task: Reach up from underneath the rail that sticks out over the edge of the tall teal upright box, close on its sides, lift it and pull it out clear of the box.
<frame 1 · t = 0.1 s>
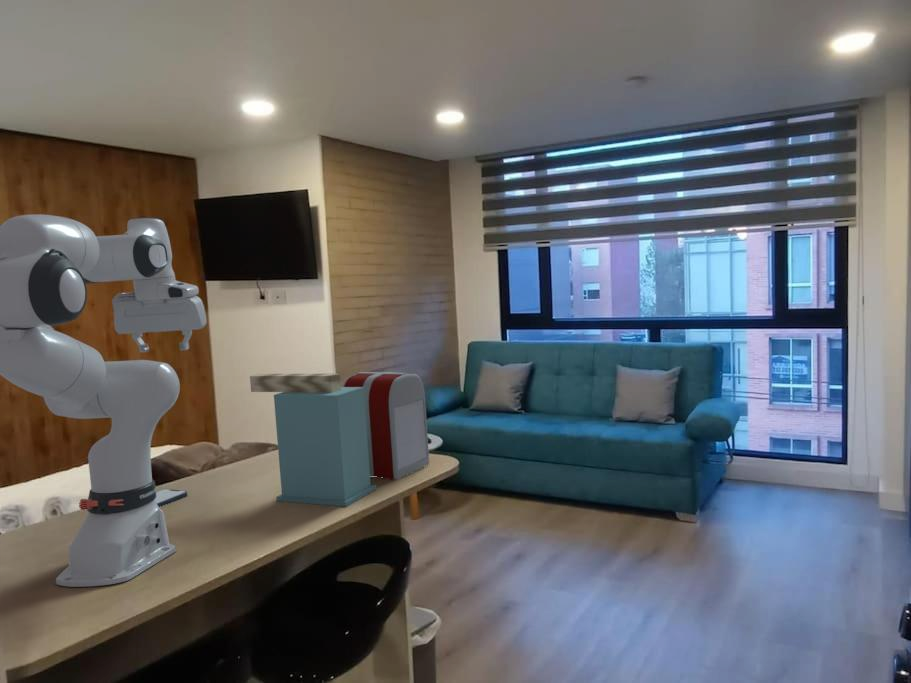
hand: (164, 350, 162), 39 cm above the table, tool pointing down, fingers open, 8 cm apart
tall teal upright box: (327, 494, 175), on the table
rail: (295, 390, 176), point 26 cm above the table, touching tall teal upright box
red striped toaster: (388, 469, 196), on the table
phone case: (152, 506, 177), on the table
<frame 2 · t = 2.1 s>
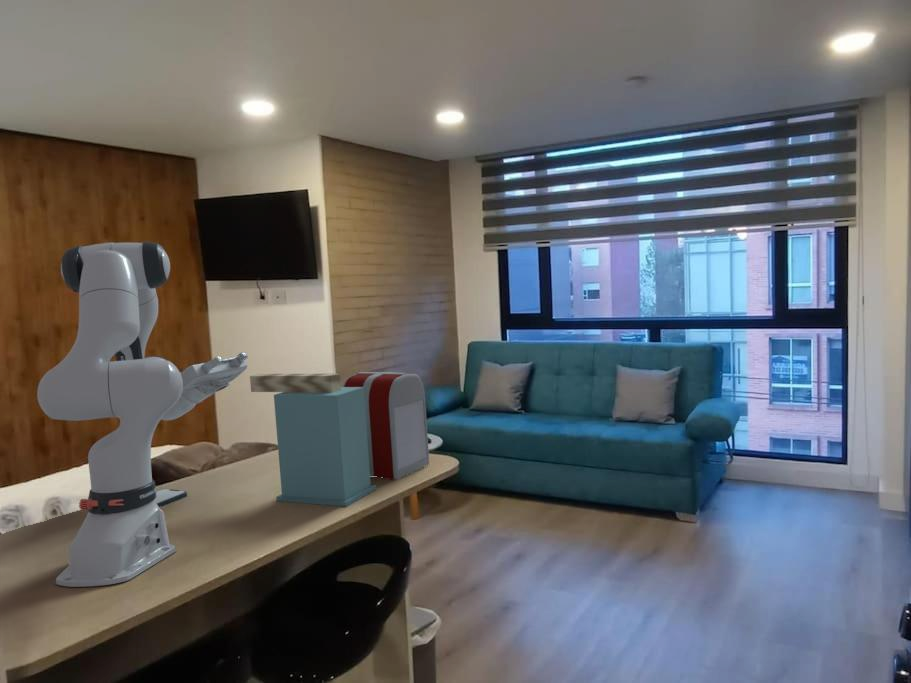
hand: (232, 356, 182), 35 cm above the table, tool pointing upward, fingers open, 8 cm apart
nothing on the table moved.
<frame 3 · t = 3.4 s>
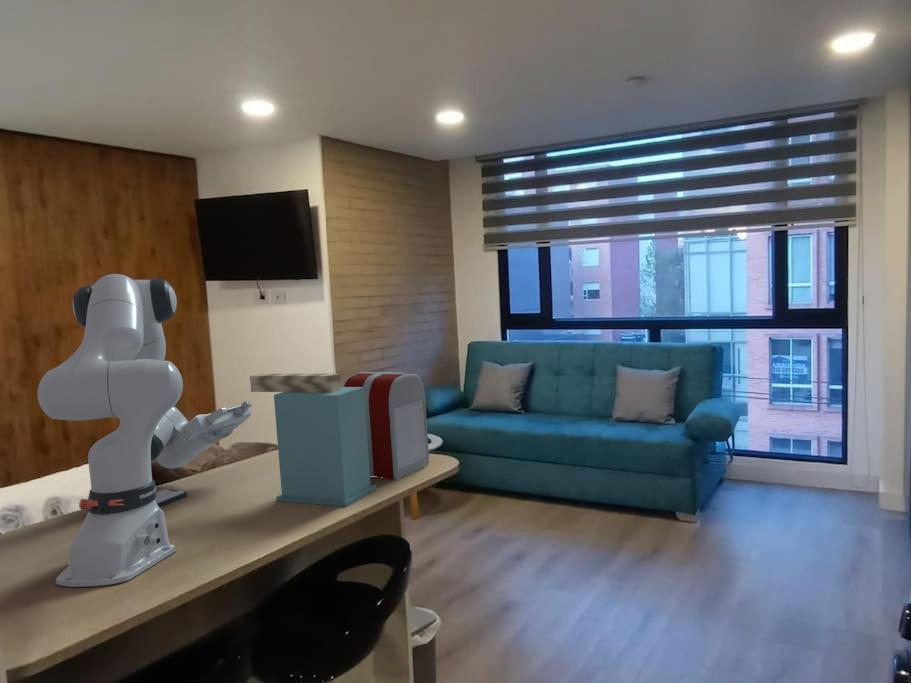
hand: (236, 406, 183), 22 cm above the table, tool pointing upward, fingers open, 8 cm apart
nothing on the table moved.
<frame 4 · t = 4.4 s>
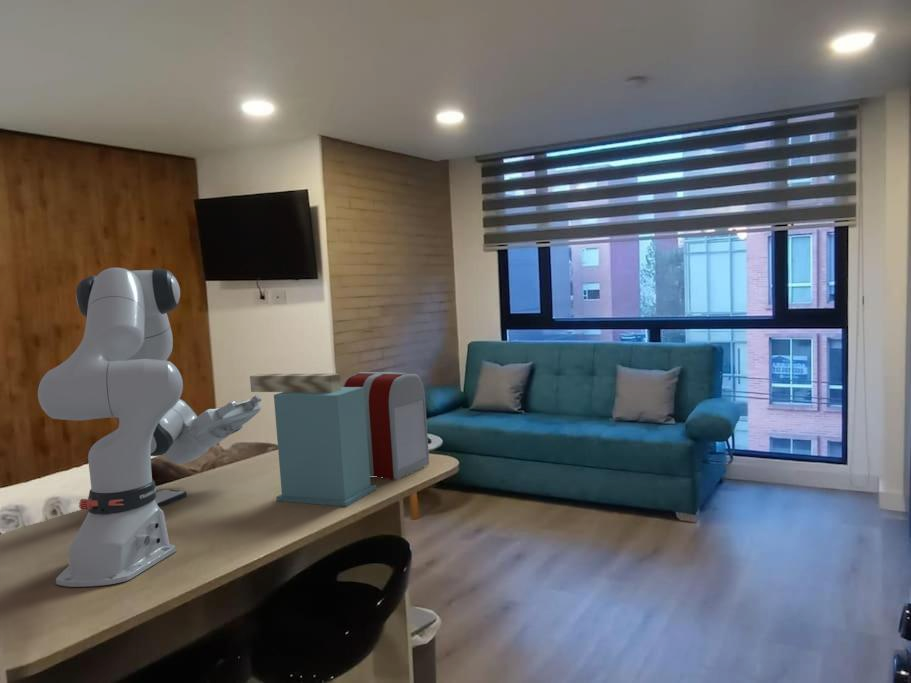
hand: (246, 400, 182), 23 cm above the table, tool pointing upward, fingers open, 8 cm apart
nothing on the table moved.
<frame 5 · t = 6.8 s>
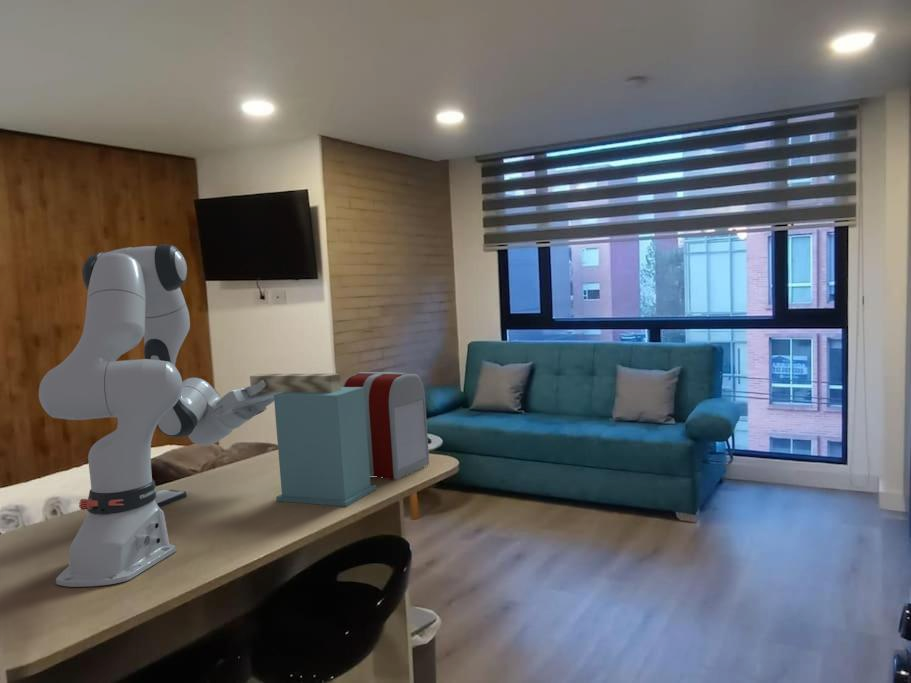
hand: (272, 381, 178), 28 cm above the table, tool pointing upward, fingers closed on rail, 4 cm apart
rail: (295, 390, 176), point 26 cm above the table, touching gripper, tall teal upright box
everything else where it was.
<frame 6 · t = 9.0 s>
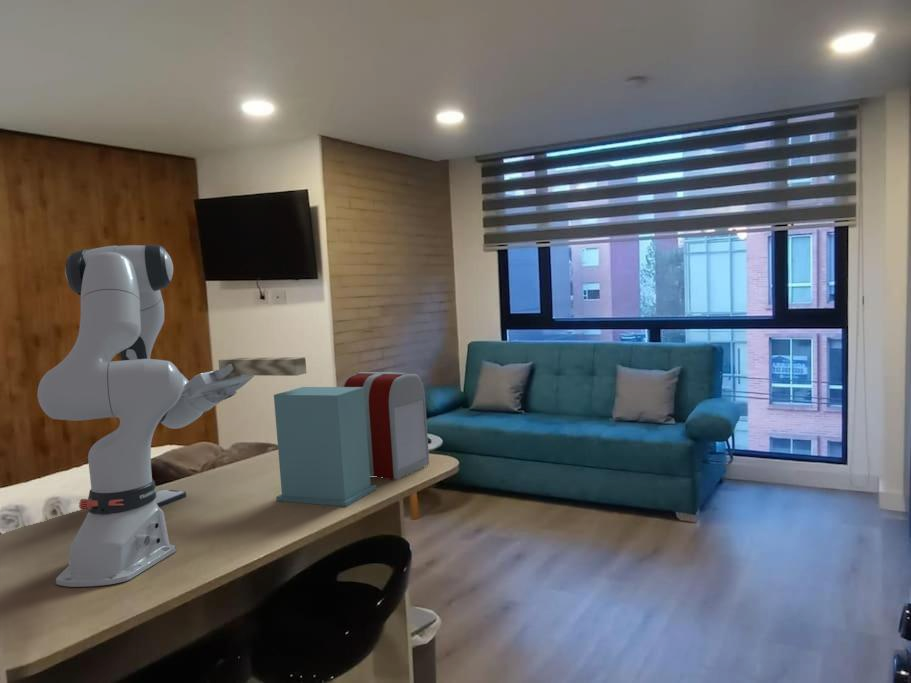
hand: (240, 364, 182), 33 cm above the table, tool pointing upward, fingers closed on rail, 4 cm apart
rail: (262, 374, 179), point 30 cm above the table, touching gripper
everything else where it was.
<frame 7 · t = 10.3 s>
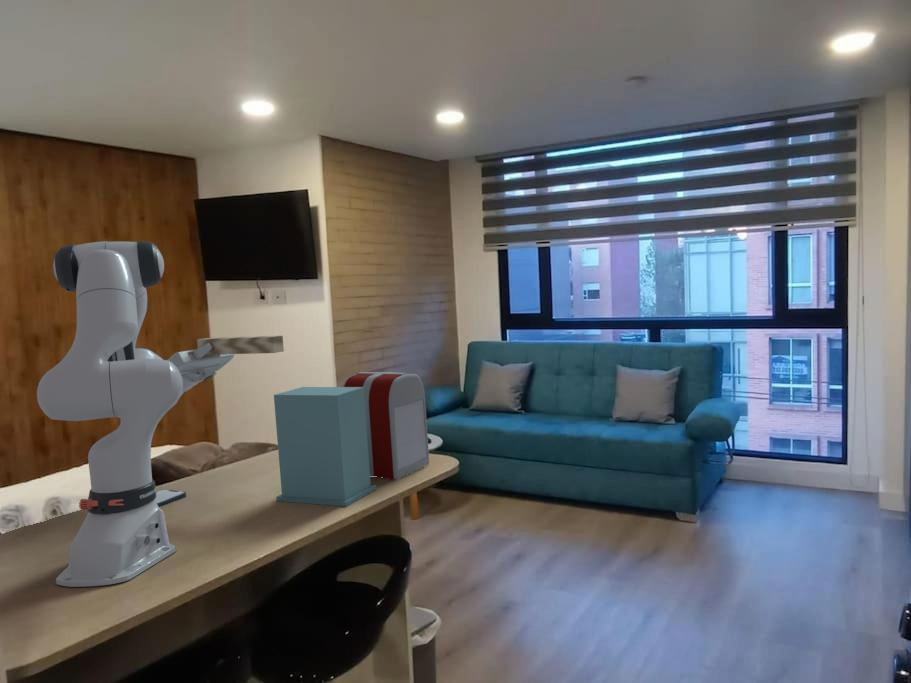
hand: (219, 344, 184), 38 cm above the table, tool pointing upward, fingers closed on rail, 4 cm apart
rail: (240, 353, 181), point 36 cm above the table, touching gripper
everything else where it was.
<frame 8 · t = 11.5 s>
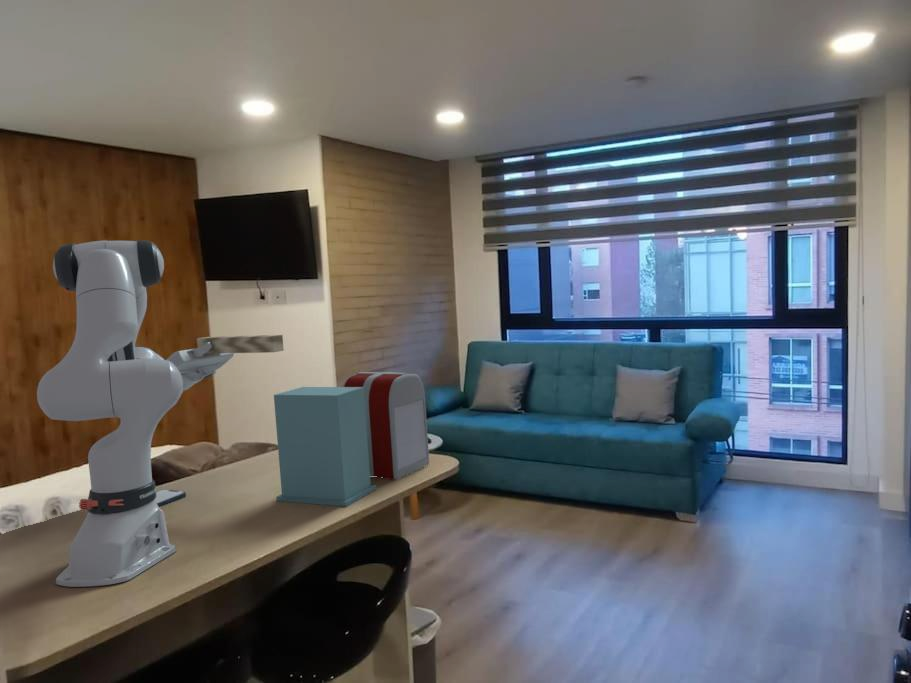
hand: (218, 343, 183), 38 cm above the table, tool pointing upward, fingers closed on rail, 4 cm apart
rail: (240, 352, 181), point 36 cm above the table, touching gripper
everything else where it was.
at the end: the gripper is holding rail; rail moved 18.8 cm from its start; rail touching gripper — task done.
